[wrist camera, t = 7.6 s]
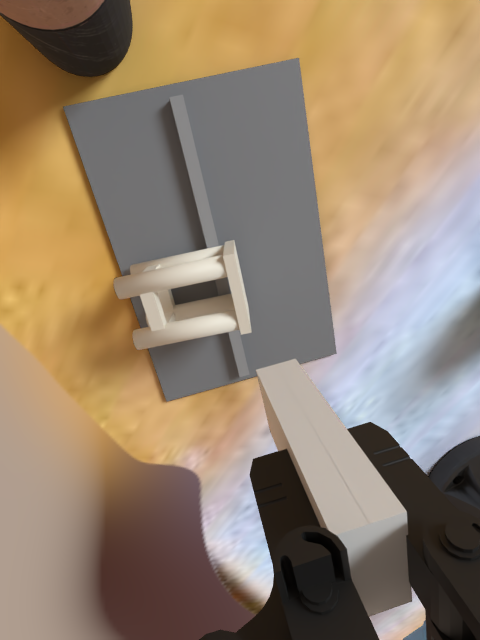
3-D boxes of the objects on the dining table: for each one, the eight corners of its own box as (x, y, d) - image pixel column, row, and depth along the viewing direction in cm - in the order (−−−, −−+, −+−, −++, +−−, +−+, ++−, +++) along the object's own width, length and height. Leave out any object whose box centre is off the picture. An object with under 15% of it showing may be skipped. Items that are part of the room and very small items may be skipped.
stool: (251, 332, 26) (137, 355, 26) (248, 305, 31) (154, 325, 32) (234, 253, 24) (110, 280, 24) (234, 239, 29) (133, 261, 30)
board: (334, 351, 37) (340, 357, 35) (166, 399, 35) (166, 407, 34) (297, 59, 27) (303, 52, 26) (64, 108, 26) (58, 103, 24)
